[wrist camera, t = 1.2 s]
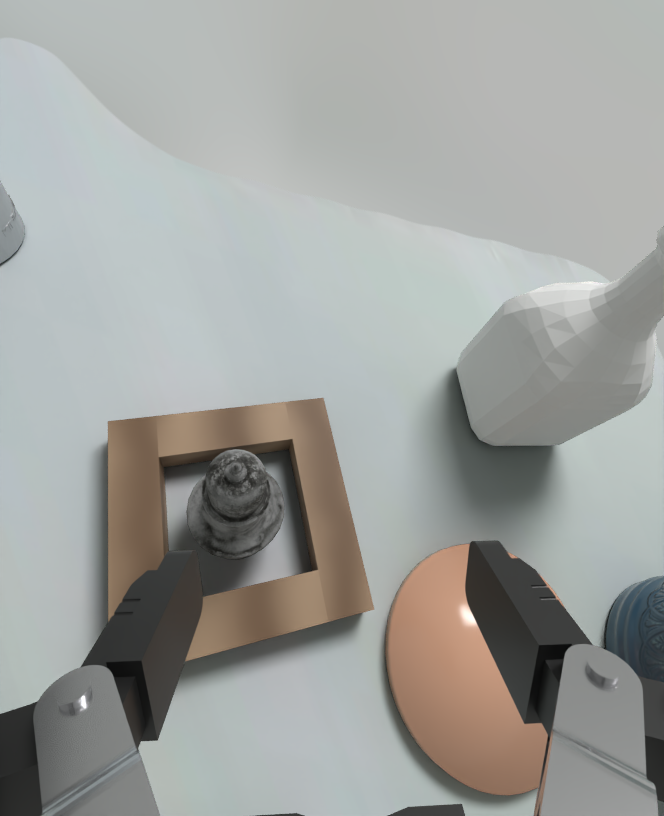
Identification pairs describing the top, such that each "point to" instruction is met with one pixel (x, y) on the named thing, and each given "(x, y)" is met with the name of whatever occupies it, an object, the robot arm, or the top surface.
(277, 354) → the top surface
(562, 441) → the soap bottle
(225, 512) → the salt shaker
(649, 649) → the canister
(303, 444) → the wooden square frame
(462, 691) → the saucer
